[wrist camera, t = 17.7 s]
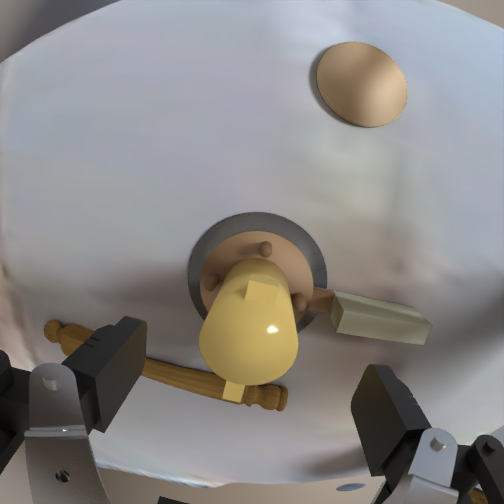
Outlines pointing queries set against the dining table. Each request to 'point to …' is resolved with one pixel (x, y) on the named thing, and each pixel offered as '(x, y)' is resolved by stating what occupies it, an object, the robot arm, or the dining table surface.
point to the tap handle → (175, 372)
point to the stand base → (256, 223)
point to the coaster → (362, 84)
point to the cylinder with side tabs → (250, 327)
